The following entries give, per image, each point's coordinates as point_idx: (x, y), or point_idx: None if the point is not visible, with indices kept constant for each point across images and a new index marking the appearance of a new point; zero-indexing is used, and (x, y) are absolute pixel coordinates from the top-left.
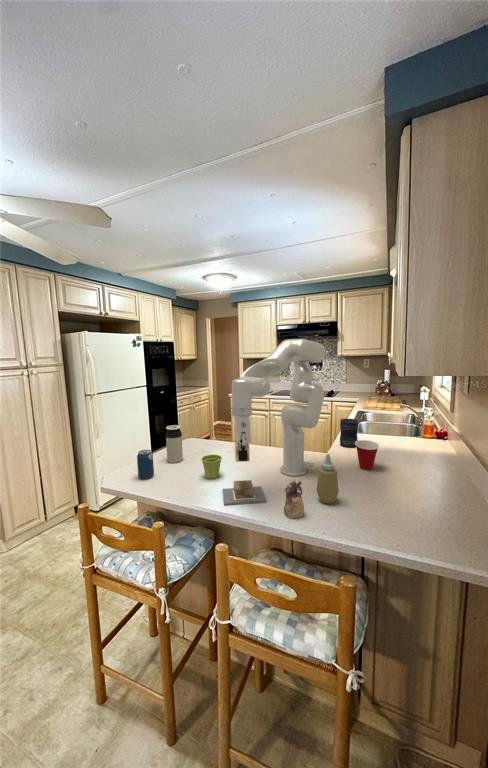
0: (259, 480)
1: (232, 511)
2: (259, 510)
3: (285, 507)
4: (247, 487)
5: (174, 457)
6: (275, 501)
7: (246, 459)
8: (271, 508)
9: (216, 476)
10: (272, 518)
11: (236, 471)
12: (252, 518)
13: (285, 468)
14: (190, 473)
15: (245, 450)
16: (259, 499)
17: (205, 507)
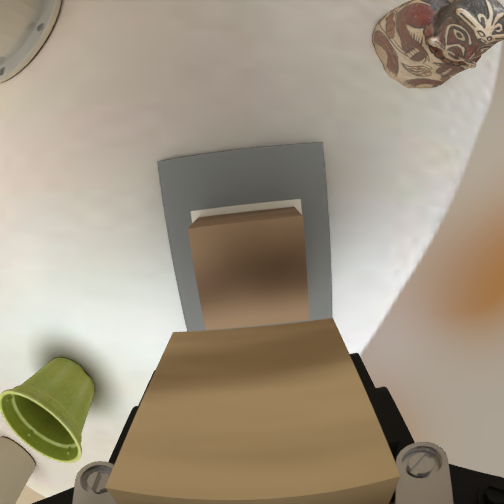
0: (78, 172)
1: (379, 299)
2: (387, 185)
3: (442, 79)
4: (296, 252)
5: (24, 468)
6: (312, 98)
7: (360, 363)
8: (375, 128)
9: (80, 371)
10: (443, 142)
11: (12, 284)
12: (436, 220)
13: (10, 50)
14: None
15: (422, 456)
16: (312, 177)
17: None
